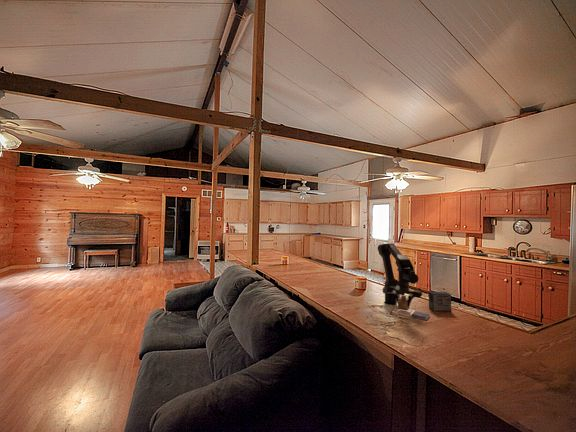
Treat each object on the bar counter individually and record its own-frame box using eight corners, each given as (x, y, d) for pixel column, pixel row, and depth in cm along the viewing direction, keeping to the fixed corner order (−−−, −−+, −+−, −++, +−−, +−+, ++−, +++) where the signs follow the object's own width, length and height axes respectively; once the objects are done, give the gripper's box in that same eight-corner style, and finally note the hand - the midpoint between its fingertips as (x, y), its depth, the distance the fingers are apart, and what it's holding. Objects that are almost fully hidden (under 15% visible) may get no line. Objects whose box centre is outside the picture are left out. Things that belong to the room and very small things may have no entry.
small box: (446, 308, 159) (446, 291, 159) (451, 312, 152) (451, 294, 153) (428, 307, 160) (428, 290, 160) (433, 311, 154) (433, 293, 154)
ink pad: (410, 316, 145) (410, 314, 145) (414, 313, 151) (414, 310, 151) (426, 320, 139) (426, 317, 139) (429, 316, 145) (429, 313, 145)
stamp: (397, 308, 153) (397, 295, 153) (400, 306, 156) (400, 294, 156) (406, 310, 149) (406, 297, 149) (409, 308, 153) (409, 295, 153)
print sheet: (391, 312, 151) (391, 311, 151) (398, 307, 161) (398, 306, 161) (409, 316, 145) (409, 315, 145) (415, 311, 154) (415, 310, 154)
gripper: (382, 279, 153) (382, 305, 153) (417, 284, 141) (416, 313, 141) (389, 276, 162) (389, 301, 161) (422, 281, 149) (422, 308, 149)
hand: (403, 306), depth 153 cm, fingers closed on stamp, 5 cm apart
